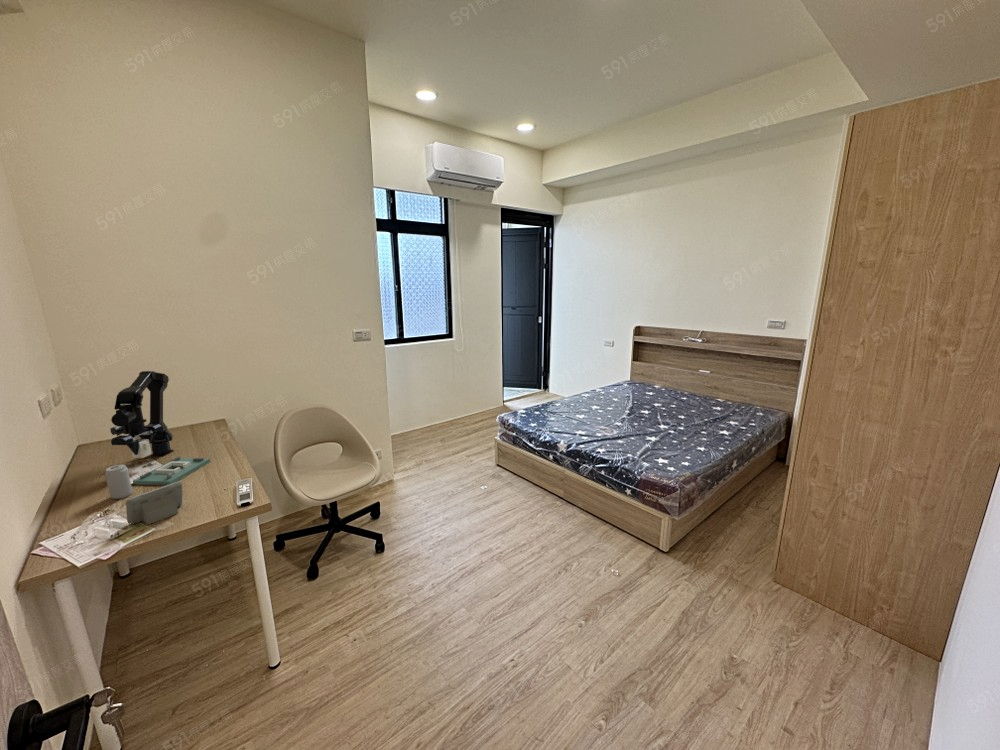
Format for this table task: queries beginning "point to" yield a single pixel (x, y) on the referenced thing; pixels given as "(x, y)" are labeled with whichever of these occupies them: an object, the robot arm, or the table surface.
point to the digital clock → (155, 504)
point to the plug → (142, 449)
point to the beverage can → (118, 481)
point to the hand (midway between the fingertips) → (141, 452)
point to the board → (171, 471)
